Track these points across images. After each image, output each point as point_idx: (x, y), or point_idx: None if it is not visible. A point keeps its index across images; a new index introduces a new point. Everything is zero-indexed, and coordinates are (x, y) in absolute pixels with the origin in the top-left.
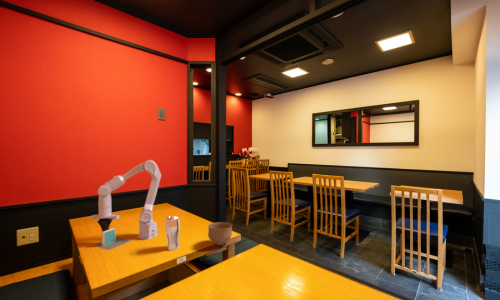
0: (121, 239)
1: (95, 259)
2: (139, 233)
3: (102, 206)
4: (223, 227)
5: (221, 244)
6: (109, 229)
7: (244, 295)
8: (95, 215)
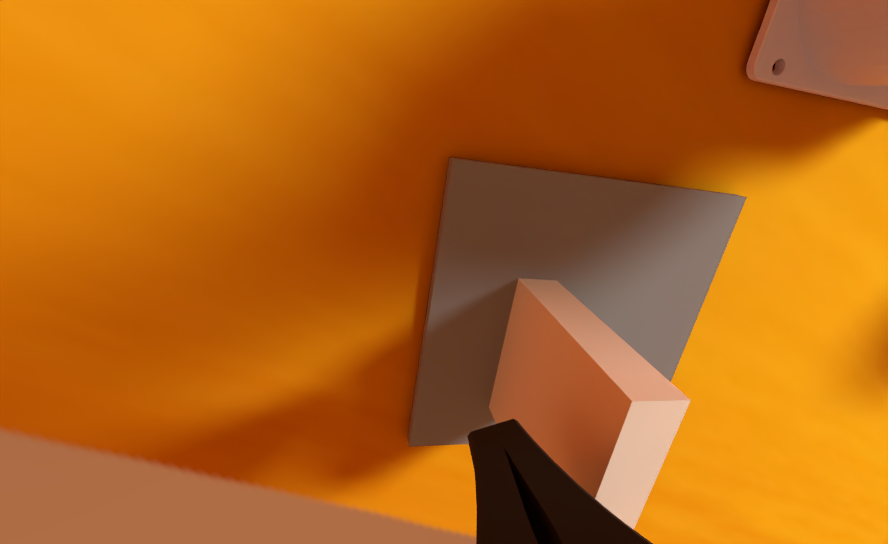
0: (591, 206)
1: (637, 528)
2: (875, 55)
3: None
4: None
5: None
6: (608, 474)
7: None
8: None
